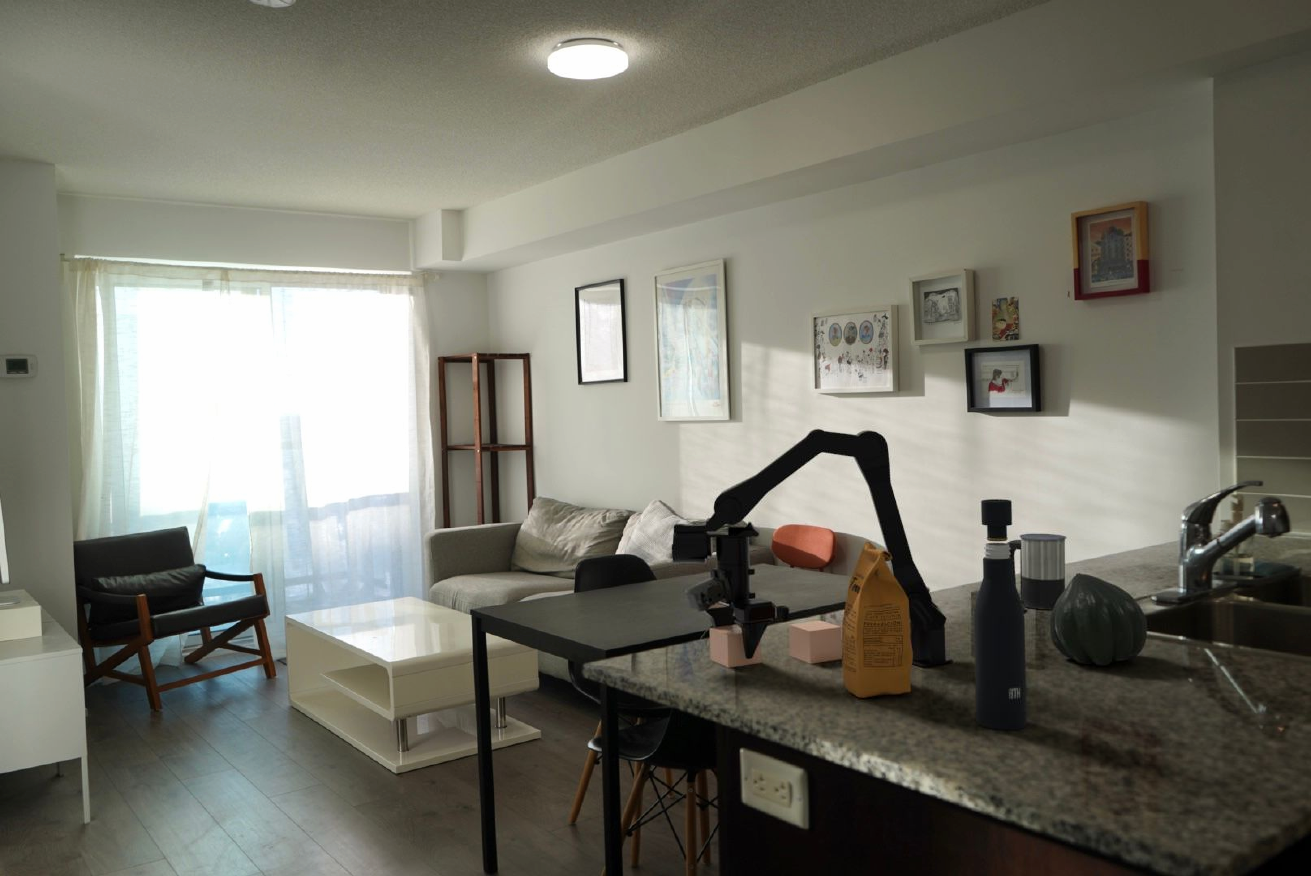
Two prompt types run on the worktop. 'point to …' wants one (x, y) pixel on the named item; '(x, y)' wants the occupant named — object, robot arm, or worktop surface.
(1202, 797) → the worktop surface
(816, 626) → the pink rectangular prism
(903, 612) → the coffee package
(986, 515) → the navy water bottle
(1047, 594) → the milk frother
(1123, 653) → the squash
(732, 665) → the pink block
